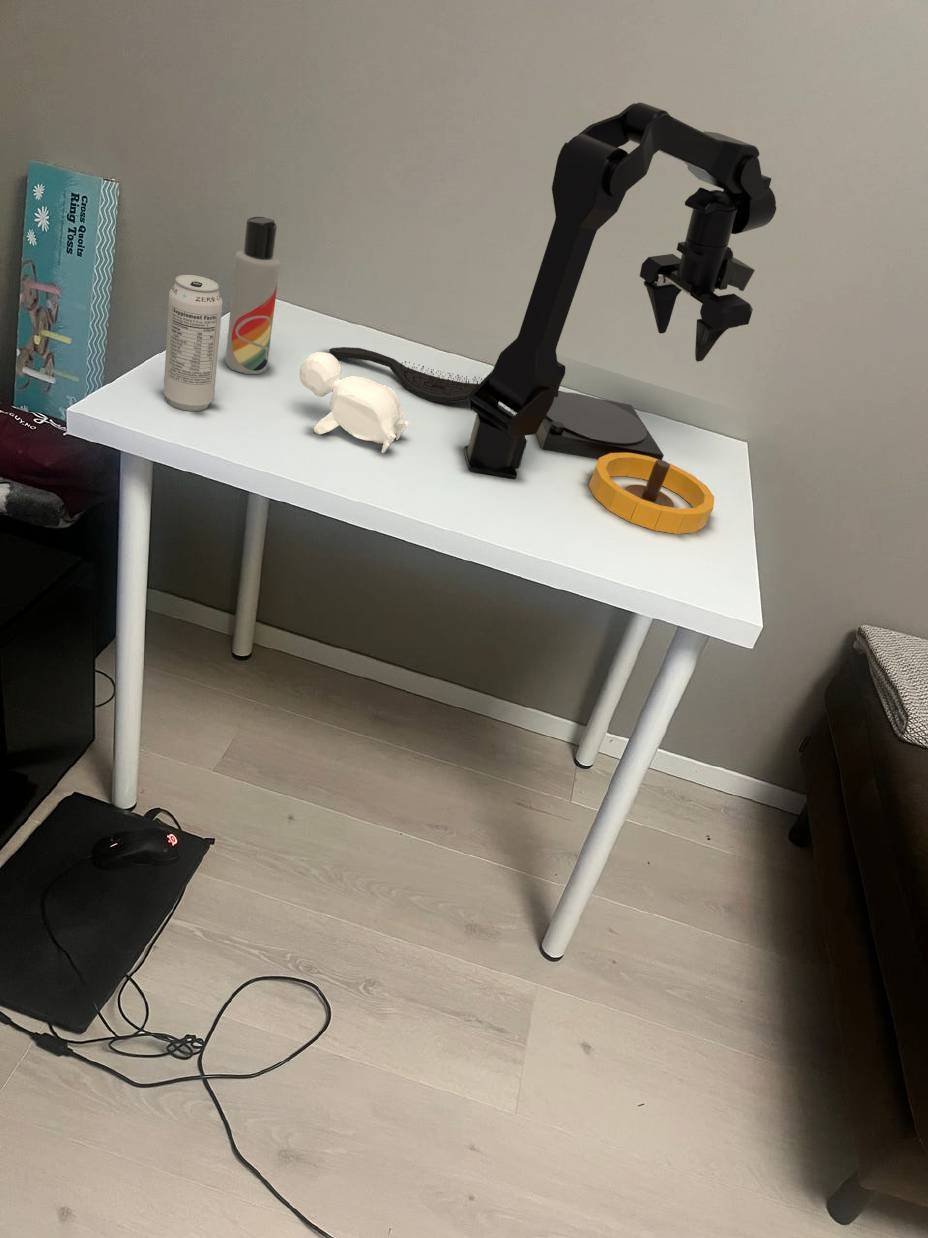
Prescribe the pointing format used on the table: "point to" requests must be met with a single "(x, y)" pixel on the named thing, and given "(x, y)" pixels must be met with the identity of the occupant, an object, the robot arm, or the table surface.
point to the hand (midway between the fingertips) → (680, 346)
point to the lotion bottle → (253, 299)
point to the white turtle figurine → (353, 401)
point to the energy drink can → (192, 342)
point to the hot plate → (594, 428)
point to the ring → (645, 510)
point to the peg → (653, 486)
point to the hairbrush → (414, 377)
